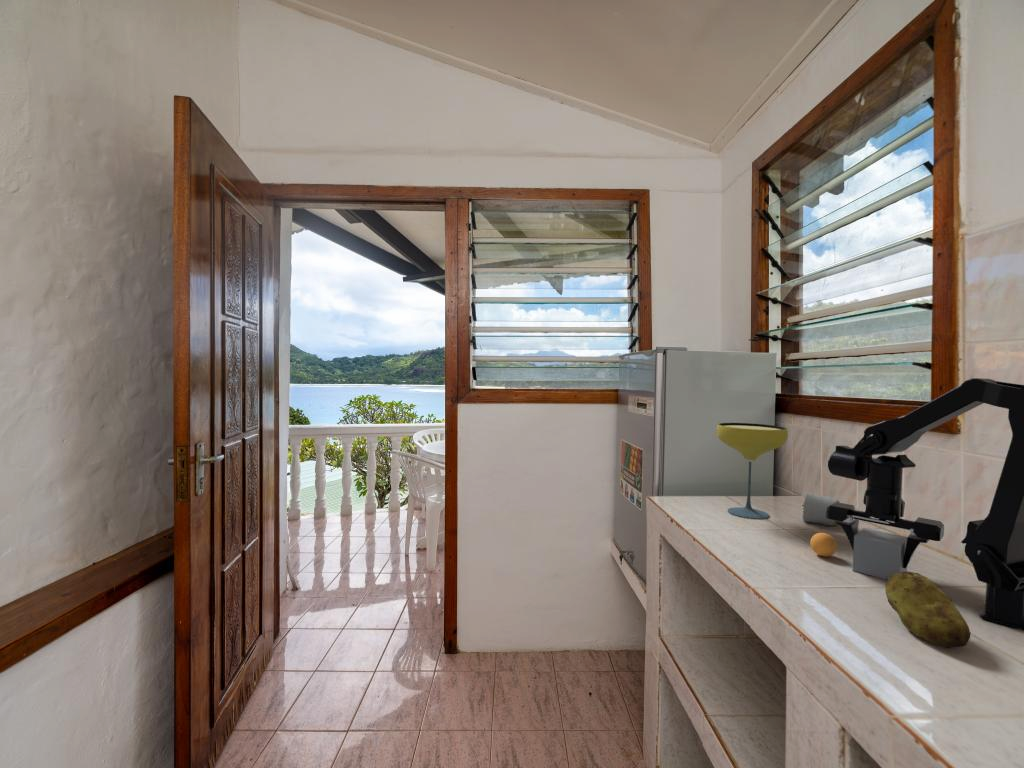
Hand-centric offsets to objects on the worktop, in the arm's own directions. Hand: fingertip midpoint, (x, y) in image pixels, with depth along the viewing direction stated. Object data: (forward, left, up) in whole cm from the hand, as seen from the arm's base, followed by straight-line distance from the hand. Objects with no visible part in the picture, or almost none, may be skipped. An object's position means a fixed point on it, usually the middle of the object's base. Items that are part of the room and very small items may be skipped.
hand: (880, 561), depth 102 cm
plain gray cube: (0, 0, -2) cm, 2 cm away
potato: (-24, -10, -2) cm, 26 cm away
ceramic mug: (+30, +19, -2) cm, 35 cm away
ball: (+1, +10, 0) cm, 11 cm away
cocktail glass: (+22, +35, -2) cm, 41 cm away
